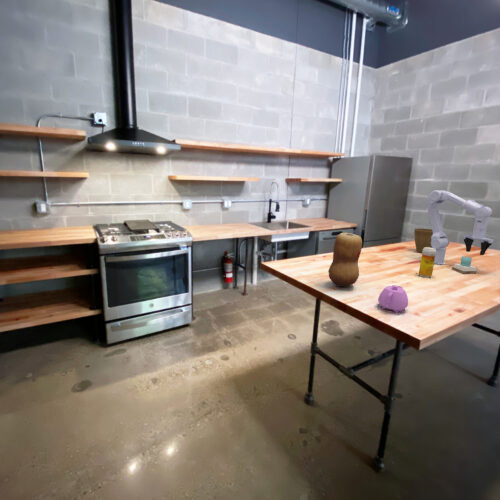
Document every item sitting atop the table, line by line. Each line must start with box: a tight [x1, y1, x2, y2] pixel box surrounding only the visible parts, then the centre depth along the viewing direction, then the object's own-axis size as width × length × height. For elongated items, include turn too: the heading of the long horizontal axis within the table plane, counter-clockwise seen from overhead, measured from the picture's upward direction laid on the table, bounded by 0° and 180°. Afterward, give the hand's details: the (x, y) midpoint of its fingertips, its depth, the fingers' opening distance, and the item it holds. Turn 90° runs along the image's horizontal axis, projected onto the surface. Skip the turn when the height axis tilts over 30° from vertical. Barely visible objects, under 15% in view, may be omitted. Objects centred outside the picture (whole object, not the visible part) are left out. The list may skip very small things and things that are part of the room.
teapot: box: [377, 284, 409, 314], centre depth 116 cm, size 10×15×9 cm
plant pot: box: [413, 228, 433, 254], centre depth 207 cm, size 15×15×16 cm
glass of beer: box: [418, 247, 436, 278], centre depth 155 cm, size 6×6×15 cm
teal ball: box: [459, 256, 473, 267], centre depth 164 cm, size 5×5×5 cm
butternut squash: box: [327, 232, 363, 288], centre depth 137 cm, size 14×13×25 cm
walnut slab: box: [451, 266, 477, 275], centre depth 166 cm, size 8×8×2 cm
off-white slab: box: [453, 263, 477, 271], centre depth 165 cm, size 7×7×2 cm
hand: (474, 253), depth 165 cm, fingers open, 7 cm apart
